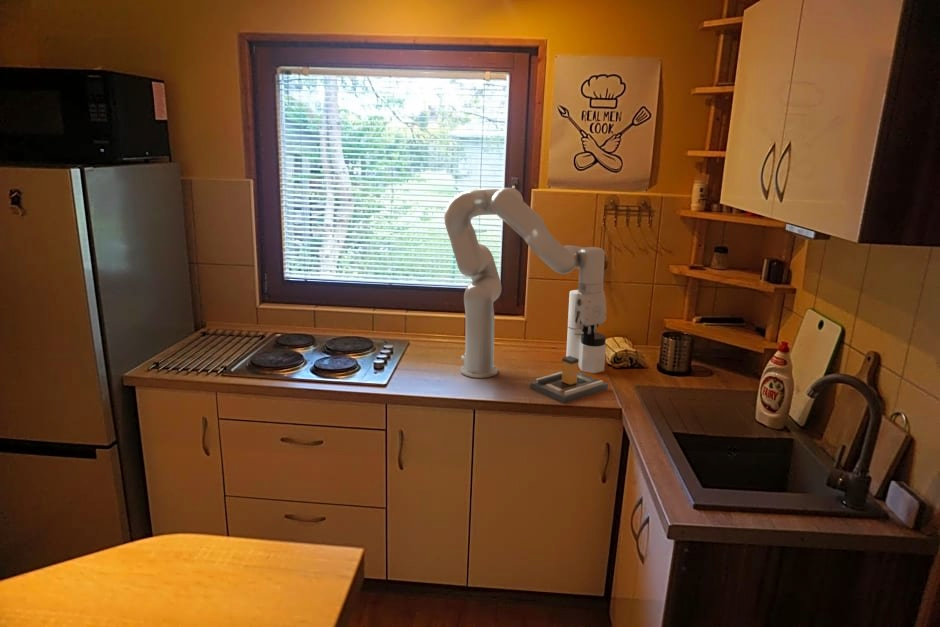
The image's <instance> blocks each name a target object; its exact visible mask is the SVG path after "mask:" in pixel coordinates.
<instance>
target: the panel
mask: <svg viewBox="0 0 940 627" xmlns="http://www.w3.org/2000/svg"><path fill="white" fill-rule="evenodd" d="M596 381H599V379H597V378H595V377H592V376H589V375H586V374H584V373H581V372H579V371H577V383H574V384H571V385H569V384H567V383H564V382H562V378H559V379H556V380H552V381H549V382H546V383H542V384H539V383H537V382H536V380H534V381H530V383H529V384H530V385H529V386H530V387H529V388H530V389H531V390H533V391H536V392H538V393H540V394H542V395H545V397H546V396H547V397H548V398H551V399H554V400H555V401H558V402H559V403H562V404H565V405H566V404H568V403H571V402H573V401H577V400H579V399H583V398H586V397H589V396H592V395H596V394H598V393H601V392H605V391H607V390H609V389H608V388H609V383H608V382H605V381H603V384H602V385H598V386H595V387H592V388H589V389H586V390H582V391H579V392H576V393H573V394H570V395H564V391H567V390H570V389H574V388H577V387H580V386H583V385H586V384H590V383H593V382H596Z"/></svg>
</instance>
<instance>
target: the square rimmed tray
mask: <svg viewBox="0 0 940 627" xmlns="http://www.w3.org/2000/svg"><path fill="white" fill-rule="evenodd" d="M559 378H562V371H559V372H555V373H552V374H548V375H545V376H541V377H537V378H535V381H536V382H537V383H539V384H542V383H546V382H549V381H552V380H556V379H559ZM598 380H599V379H598ZM603 382H604V381H603V380H601V379H600V380H599V381H596V382H593V383H590V384H586V385H583V386H580V387H577V388H574V389H570V390H567V391H564V395H570V394H573V393H576V392H579V391H582V390H586V389H589V388H592V387H595V386H598V385H602V384H603Z"/></svg>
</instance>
